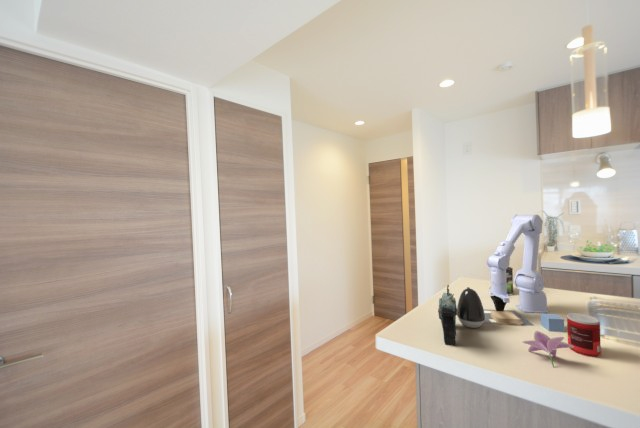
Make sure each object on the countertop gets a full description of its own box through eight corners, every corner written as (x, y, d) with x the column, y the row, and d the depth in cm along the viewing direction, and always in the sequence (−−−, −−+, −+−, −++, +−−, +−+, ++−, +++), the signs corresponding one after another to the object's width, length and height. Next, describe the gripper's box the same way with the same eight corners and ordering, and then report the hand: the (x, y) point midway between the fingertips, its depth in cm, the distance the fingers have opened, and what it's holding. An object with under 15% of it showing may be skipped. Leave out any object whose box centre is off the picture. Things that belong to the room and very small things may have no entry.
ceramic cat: (459, 349, 91) (456, 292, 90) (438, 345, 93) (436, 290, 93) (456, 325, 109) (454, 277, 108) (439, 323, 111) (437, 276, 111)
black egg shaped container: (483, 321, 111) (481, 286, 111) (487, 332, 101) (485, 293, 101) (456, 318, 115) (455, 284, 115) (457, 328, 106) (456, 291, 106)
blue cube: (555, 326, 104) (555, 314, 104) (564, 332, 99) (564, 319, 99) (541, 325, 105) (540, 313, 105) (549, 331, 100) (548, 318, 100)
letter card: (514, 310, 121) (514, 310, 121) (534, 325, 105) (534, 325, 105) (471, 309, 125) (471, 308, 125) (484, 323, 109) (484, 323, 109)
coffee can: (517, 295, 140) (516, 269, 140) (496, 295, 141) (495, 269, 141) (507, 289, 150) (506, 265, 150) (487, 289, 152) (486, 265, 151)
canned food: (590, 346, 89) (589, 313, 89) (607, 358, 81) (606, 323, 81) (562, 343, 91) (561, 312, 91) (576, 355, 84) (575, 321, 84)
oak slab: (511, 317, 113) (511, 311, 113) (520, 325, 106) (520, 319, 106) (490, 316, 115) (490, 310, 115) (498, 324, 108) (498, 318, 107)
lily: (583, 369, 79) (570, 334, 83) (574, 368, 72) (561, 330, 77) (535, 366, 87) (526, 334, 91) (523, 365, 80) (514, 331, 85)
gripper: (482, 278, 123) (483, 306, 123) (495, 287, 109) (496, 319, 109) (499, 278, 121) (500, 307, 122) (514, 287, 107) (516, 320, 107)
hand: (499, 313), depth 115 cm, fingers closed
